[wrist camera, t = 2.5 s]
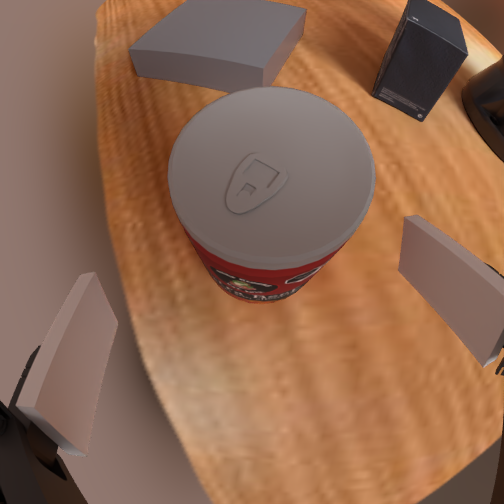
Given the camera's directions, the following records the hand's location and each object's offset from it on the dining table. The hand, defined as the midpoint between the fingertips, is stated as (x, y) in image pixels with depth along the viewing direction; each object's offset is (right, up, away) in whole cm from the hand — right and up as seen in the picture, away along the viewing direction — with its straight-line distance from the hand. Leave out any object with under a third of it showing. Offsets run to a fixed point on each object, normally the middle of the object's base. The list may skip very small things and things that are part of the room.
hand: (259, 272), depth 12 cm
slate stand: (-3, +23, +15) cm, 28 cm away
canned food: (0, +1, +9) cm, 9 cm away
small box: (+17, +19, +15) cm, 30 cm away
